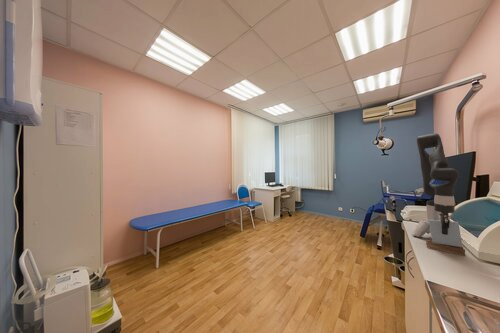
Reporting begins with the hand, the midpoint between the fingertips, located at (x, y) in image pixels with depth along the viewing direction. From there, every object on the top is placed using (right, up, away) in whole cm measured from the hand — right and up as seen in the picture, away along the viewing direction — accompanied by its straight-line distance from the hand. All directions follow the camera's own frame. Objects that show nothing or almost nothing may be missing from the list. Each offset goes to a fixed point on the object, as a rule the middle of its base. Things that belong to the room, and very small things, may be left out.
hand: (444, 233), depth 95 cm
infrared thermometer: (+15, -11, +17) cm, 25 cm away
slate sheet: (+1, -6, -1) cm, 6 cm away
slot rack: (0, -9, 0) cm, 9 cm away
